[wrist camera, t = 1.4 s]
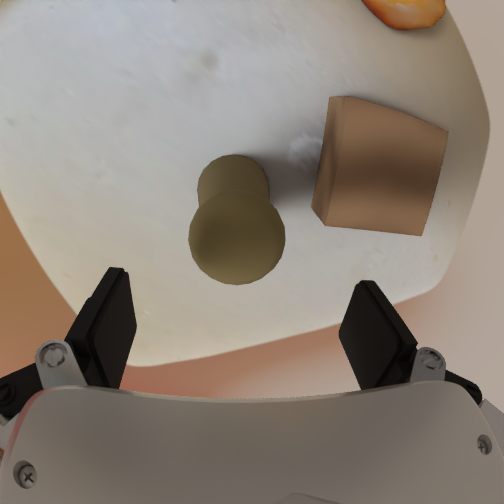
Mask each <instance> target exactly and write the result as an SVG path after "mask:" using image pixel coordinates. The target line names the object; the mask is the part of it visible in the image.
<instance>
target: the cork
mask: <svg viewBox="0 0 504 504" xmlns="http://www.w3.org/2000/svg"><path fill="white" fill-rule="evenodd" d="M197 192H198V201H199V208H198V209H197V211H196V213H195V215H194V217H193V220H192V222H191V224H190V229H189V238H188V241H189V245H190V249H191V253H192V257H193V259H194V261H195V262H196V264H197V265H198V267H199V268H200V269H201V270H202V271H203V272H204V273H206V274H207V275H208V276H209V277H211V278H212V279H215V280H217V281H220V282H222V283H224V284H232V285H242V284H249V283H252V282H254V281H257V280H259V279H261V278H263V277H264V276H265V275H266V274H268V273H269V272H270V271H271V270H273V269H274V267H275V266H276V265H277V263H278V262H279V260H280V259H281V257H282V253H283V250H284V246H285V227H284V224H283V222H282V220H281V218H280V215H279V213H278V211H277V209H276V208H275V207H274V206H273V205H272V204H271V203H270V202H269V185H268V179H267V176H266V174H265V172H264V170H263V169H262V168H261V167H260V166H259V165H258V164H257V163H256V162H255V161H253V160H251V159H250V158H248V157H246V156H240V155H227V156H222V157H220V158H218V159H216V160H214V161H212V162H211V163H210V164H209V165H208V166H207V167H206V168H205V169H204V170H203V172H202V174H201V176H200V178H199V182H198V189H197Z"/></svg>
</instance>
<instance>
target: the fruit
mask: <svg viewBox="0 0 504 504" xmlns="http://www.w3.org/2000/svg"><path fill="white" fill-rule="evenodd" d="M362 1H363V3H364V4H365V5H366V6H367V7H368V8H369V10H370V11H371V12H373V13H374V14H375V15H376V16H377V17H378V18H380V19H381V20H382V21H383V22H384V23H385V24H386V25H388V26H390V27H392V28H395V29H399V30H408V29H418V28H426V27H427V28H429V27H431V26H433V25H434V24H435V22H436V21H437V20H438V19H440V18H441V17H442V16H443V14H444V13H445V9H446V6H445V0H362Z"/></svg>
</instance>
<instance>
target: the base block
mask: <svg viewBox="0 0 504 504" xmlns="http://www.w3.org/2000/svg"><path fill="white" fill-rule="evenodd" d="M447 137H448V131H446V130H444V129H442V128H439V127H437V126H435V125H432V124H430V123H428V122H425V121H423V120H420V119H418V118H415V117H412V116H410V115H407V114H404V113H401V112H399V111H396V110H393V109H390V108H387V107H384V106H381V105H378V104H374V103H371V102H368V101H364V100H361V99H357V98H353V97H350V96H343V97H330V98H329V105H328V112H327V119H326V126H325V132H324V139H323V145H322V151H321V157H320V163H319V168H318V174H317V180H316V185H315V191H314V196H313V201H312V206H311V208H312V210H313V211H314V212H315V213H316V215H317V216H318V217H319V219H320V220H321V221H322V223H323V224H324V225H325V226H332V227H342V228H352V229H362V230H371V231H380V232H389V233H398V234H406V235H415V236H422V233H423V230H424V227H425V224H426V221H427V218H428V215H429V211H430V208H431V205H432V201H433V198H434V194H435V190H436V187H437V183H438V179H439V175H440V170H441V166H442V162H443V157H444V152H445V147H446V142H447Z"/></svg>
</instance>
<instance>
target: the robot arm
mask: <svg viewBox="0 0 504 504" xmlns="http://www.w3.org/2000/svg"><path fill="white" fill-rule="evenodd" d="M136 329H137V324H136V318H135V312H134V307H133V300H132V294H131V287H130V280H129V274H128V272H125V271H124V269H123V268H116V267H109V268H108V270H107V272H106V273H105V275H104V276H103V278H102V279H101V281H100V283H99V284H98V286H97V288H96V289H95V291H94V293H93V294H92V296H91V297H90V298H88V299H87V300H86V302H85V304H84V305H83V307H82V309H81V310H80V312H79V314H78V316H77V318H76V319H75V321H74V323H73V325H72V326H71V328H70V330H69V332H68V334H67V336H66V338H65V340H64V341H62V340H50V341H47V342H45V343H43V344H42V345H41V346H40V347H39V348H38V350H37V351H36V354H35V363H33V364H31V365H29V366H27V367H25V368H22V369H20V370H18V371H15V372H13V373H11V374H9V375H7V376H4V377H2V378H0V504H504V414H503V413H502V412H501V411H500V410H498V409H497V408H496V407H495V406H494V405H492V404H491V403H490V402H489V401H487V400H486V399H484V400H483V401H482V393H481V391H480V389H479V387H478V386H477V385H476V384H474V383H473V382H471V381H468V380H466V379H464V378H462V377H460V376H458V375H456V374H454V373H452V372H449V371H448V370H446V362H445V359H444V357H443V356H442V355H441V354H440V353H439V352H438V351H436V350H435V349H432V348H429V347H423V348H420V349H419V350H417V348H416V346H417V344H418V343H417V341H416V339H415V338H414V336H413V335H412V333H411V332H410V330H409V329H408V327H407V326H406V324H405V323H404V321H403V320H402V319H401V317H400V316H399V314H398V313H397V311H396V310H395V309H394V307H393V306H392V304H391V303H390V302H389V300H388V299H387V298H386V296H385V295H384V293H383V292H382V291H381V289H380V288H379V287H378V285H377V284H376V283H375V282H374V281H372V280H362V281H360V282H359V284H356V286H355V288H354V291H353V294H352V297H351V300H350V303H349V305H348V308H347V311H346V314H345V316H344V319H343V322H342V324H341V327H340V330H339V338H340V341H341V343H342V345H343V348H344V350H345V353H346V355H347V357H348V360H349V362H350V364H351V366H352V369H353V371H354V374H355V376H356V378H357V381H358V384H359V386H360V388H361V390H359V391H352V392H345V393H337V394H328V395H317V396H305V397H290V398H266V399H222V398H199V397H184V396H171V395H161V394H152V393H143V392H135V391H127V390H120V389H119V387H120V383H121V380H122V375H123V373H124V369H125V366H126V362H127V359H128V356H129V352H130V349H131V346H132V343H133V340H134V336H135V333H136Z"/></svg>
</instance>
